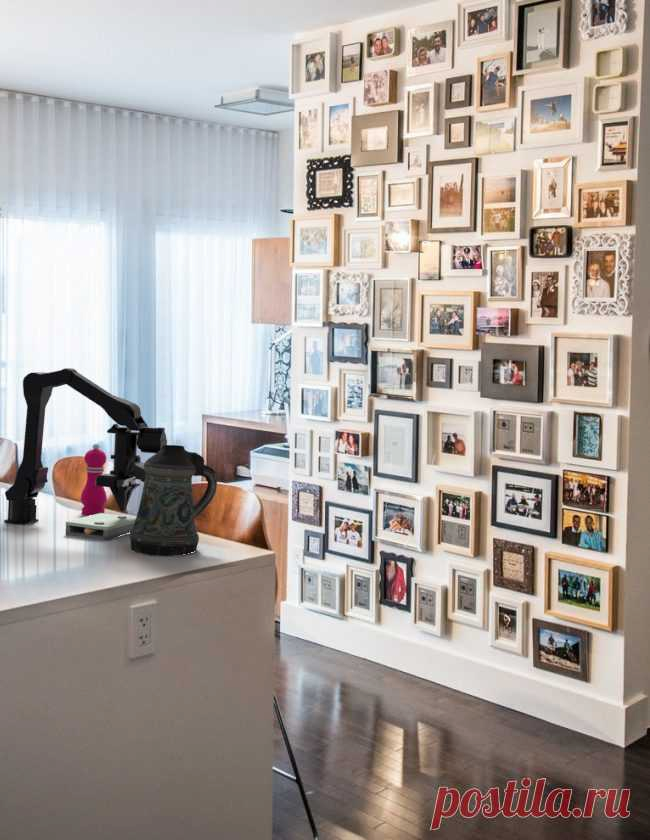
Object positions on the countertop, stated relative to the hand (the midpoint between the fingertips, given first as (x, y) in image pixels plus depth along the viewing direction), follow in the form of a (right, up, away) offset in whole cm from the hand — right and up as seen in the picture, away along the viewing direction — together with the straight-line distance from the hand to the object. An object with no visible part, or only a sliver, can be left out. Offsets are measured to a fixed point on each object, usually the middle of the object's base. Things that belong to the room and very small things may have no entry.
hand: (122, 510), depth 264 cm
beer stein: (+15, -8, -19) cm, 25 cm away
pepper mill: (-13, -3, +22) cm, 26 cm away
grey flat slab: (-4, -5, -4) cm, 8 cm away
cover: (-4, -3, -4) cm, 6 cm away
